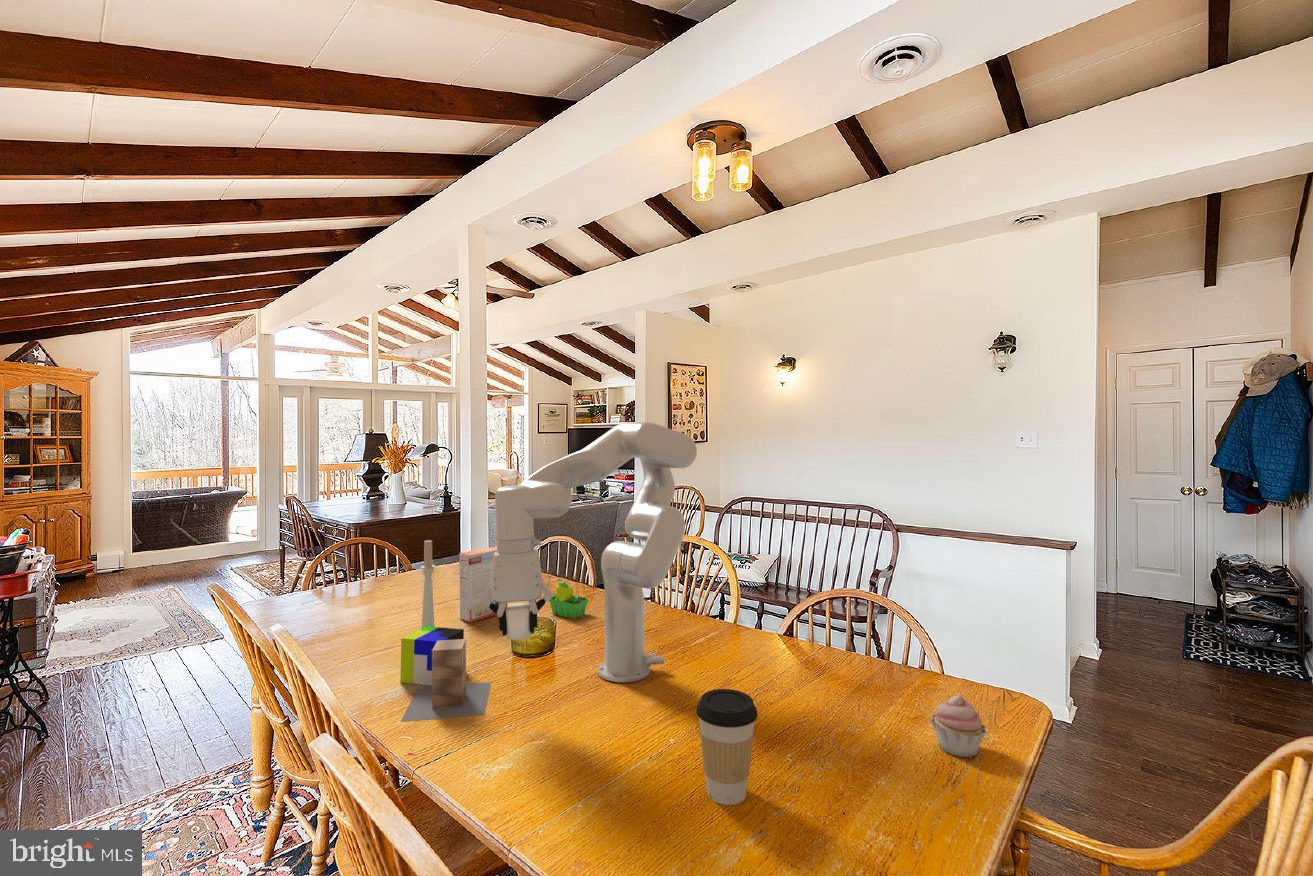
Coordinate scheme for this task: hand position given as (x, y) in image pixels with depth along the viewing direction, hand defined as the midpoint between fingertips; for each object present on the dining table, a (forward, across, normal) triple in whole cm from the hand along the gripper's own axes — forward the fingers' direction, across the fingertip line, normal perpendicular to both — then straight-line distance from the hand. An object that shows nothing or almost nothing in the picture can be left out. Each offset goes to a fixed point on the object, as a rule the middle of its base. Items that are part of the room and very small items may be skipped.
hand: (518, 631), depth 122 cm
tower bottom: (+16, +15, -6) cm, 23 cm away
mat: (+16, +15, -6) cm, 23 cm away
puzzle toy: (+16, +21, -20) cm, 33 cm away
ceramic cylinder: (+1, 0, 0) cm, 1 cm away
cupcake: (+19, -80, +30) cm, 87 cm away
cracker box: (+18, +14, -66) cm, 70 cm away
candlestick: (+17, +25, -36) cm, 47 cm away
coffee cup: (+17, -34, +35) cm, 51 cm away
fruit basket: (+19, -12, -63) cm, 67 cm away
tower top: (+10, +15, -6) cm, 19 cm away
